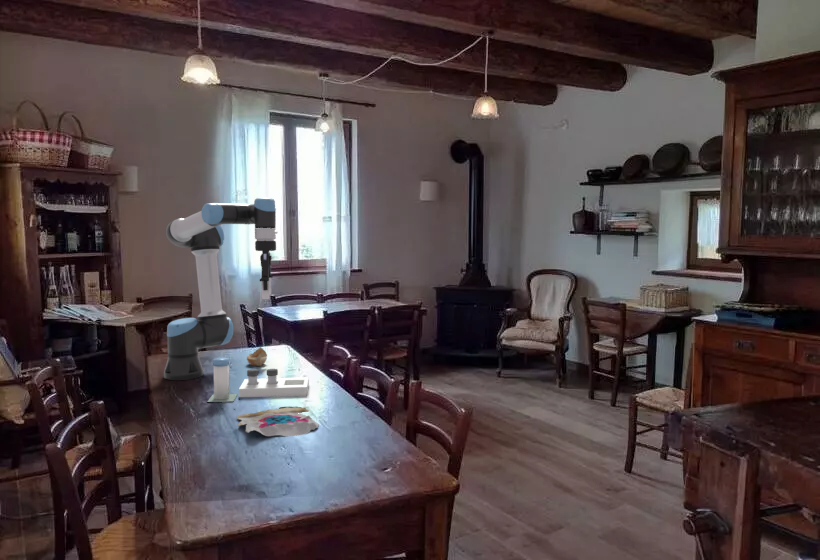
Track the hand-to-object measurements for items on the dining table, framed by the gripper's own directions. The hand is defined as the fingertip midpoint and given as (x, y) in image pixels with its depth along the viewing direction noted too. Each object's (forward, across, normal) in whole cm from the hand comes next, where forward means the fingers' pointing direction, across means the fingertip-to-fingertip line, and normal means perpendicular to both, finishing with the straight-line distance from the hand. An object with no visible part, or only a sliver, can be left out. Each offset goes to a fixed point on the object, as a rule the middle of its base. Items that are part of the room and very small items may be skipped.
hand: (266, 297), depth 225 cm
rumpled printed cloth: (+36, -39, -4) cm, 53 cm away
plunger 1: (+33, -5, +5) cm, 34 cm away
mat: (+35, -10, +16) cm, 40 cm away
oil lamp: (+36, +43, +7) cm, 56 cm away
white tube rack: (+35, -6, -3) cm, 36 cm away
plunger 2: (+33, -6, -2) cm, 34 cm away
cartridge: (+35, -10, +16) cm, 40 cm away
